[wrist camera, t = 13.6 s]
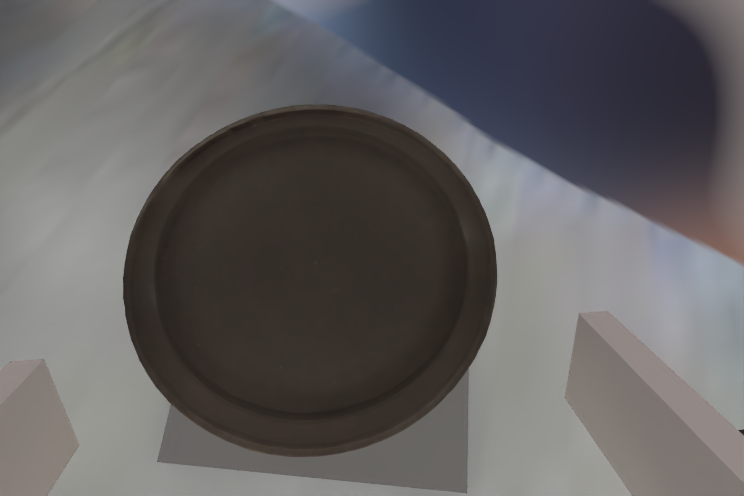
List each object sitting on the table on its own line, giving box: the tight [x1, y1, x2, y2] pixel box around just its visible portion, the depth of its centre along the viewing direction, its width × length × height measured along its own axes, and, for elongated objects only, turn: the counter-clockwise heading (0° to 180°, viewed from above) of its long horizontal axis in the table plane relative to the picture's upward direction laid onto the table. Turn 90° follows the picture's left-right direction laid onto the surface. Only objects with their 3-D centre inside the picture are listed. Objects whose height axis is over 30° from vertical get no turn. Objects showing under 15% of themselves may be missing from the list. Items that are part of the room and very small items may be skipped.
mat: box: [157, 368, 469, 493], centre depth 26 cm, size 16×14×2 cm
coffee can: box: [123, 105, 497, 457], centre depth 19 cm, size 10×10×14 cm
